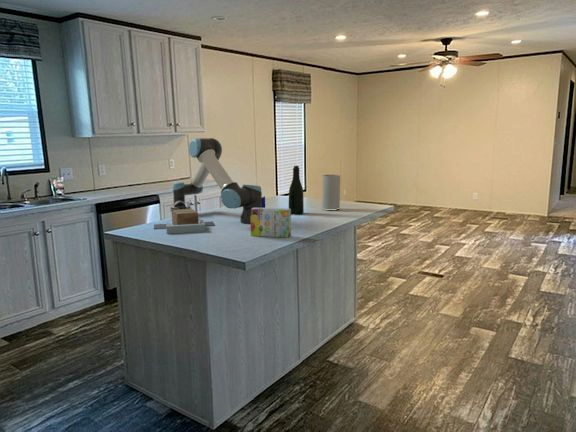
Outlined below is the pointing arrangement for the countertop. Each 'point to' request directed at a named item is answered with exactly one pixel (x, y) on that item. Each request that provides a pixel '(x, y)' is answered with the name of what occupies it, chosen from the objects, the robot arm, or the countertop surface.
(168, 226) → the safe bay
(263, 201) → the puzzle cube
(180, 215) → the walnut block
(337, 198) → the cylinder vase
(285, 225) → the snack box
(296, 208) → the beer bottle
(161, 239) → the countertop surface
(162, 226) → the mats
